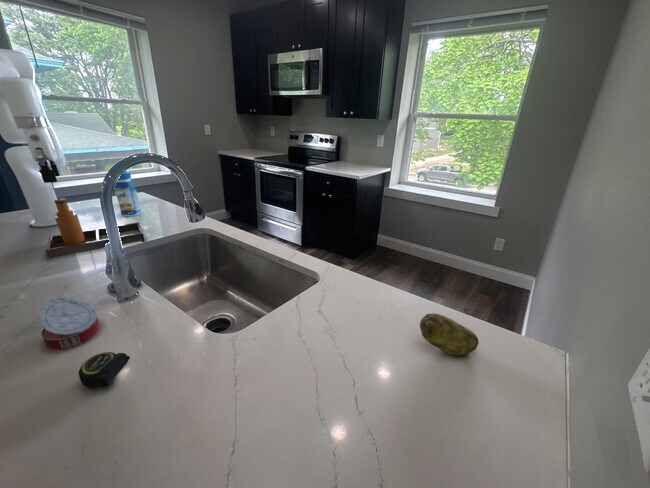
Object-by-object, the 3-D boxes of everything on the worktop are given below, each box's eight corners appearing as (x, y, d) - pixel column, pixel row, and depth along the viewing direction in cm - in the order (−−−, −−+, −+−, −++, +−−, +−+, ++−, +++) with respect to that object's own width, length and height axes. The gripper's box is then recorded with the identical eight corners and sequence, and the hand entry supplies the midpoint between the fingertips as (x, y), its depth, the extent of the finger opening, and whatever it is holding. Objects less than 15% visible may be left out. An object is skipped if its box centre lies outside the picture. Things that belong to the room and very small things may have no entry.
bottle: (66, 244, 109) (49, 198, 102) (86, 241, 112) (71, 196, 105) (65, 251, 105) (47, 203, 97) (86, 247, 108) (70, 200, 101)
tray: (52, 245, 110) (49, 236, 108) (140, 230, 125) (138, 222, 124) (49, 259, 100) (45, 250, 98) (145, 241, 115) (143, 233, 114)
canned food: (90, 334, 76) (102, 297, 76) (97, 353, 69) (110, 312, 69) (29, 335, 67) (41, 294, 67) (30, 357, 60) (44, 310, 60)
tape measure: (109, 393, 56) (103, 378, 54) (73, 390, 56) (67, 376, 54) (132, 364, 62) (128, 350, 60) (100, 362, 62) (95, 348, 61)
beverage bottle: (145, 213, 143) (135, 171, 135) (127, 218, 137) (115, 174, 128) (136, 209, 147) (125, 169, 139) (117, 214, 141) (105, 171, 132)
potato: (474, 370, 63) (484, 342, 60) (413, 349, 69) (419, 321, 65) (475, 345, 70) (484, 318, 67) (420, 327, 75) (426, 301, 72)
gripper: (45, 124, 86) (65, 183, 93) (51, 121, 99) (68, 173, 106) (9, 125, 82) (33, 186, 89) (20, 121, 95) (40, 175, 102)
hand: (52, 179), depth 98 cm, fingers open, 9 cm apart
